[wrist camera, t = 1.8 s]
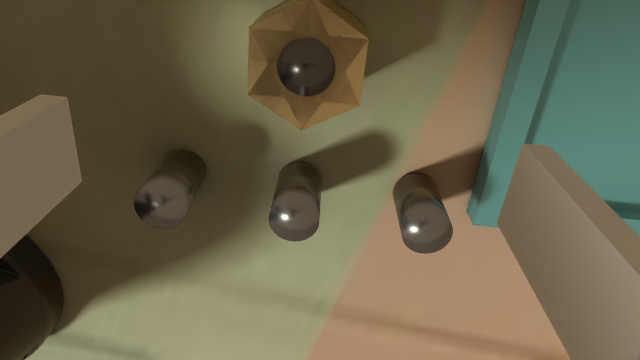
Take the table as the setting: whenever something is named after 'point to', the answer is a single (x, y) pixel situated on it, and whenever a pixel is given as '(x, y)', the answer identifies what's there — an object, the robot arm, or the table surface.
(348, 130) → the table surface
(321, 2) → the nut
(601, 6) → the tray
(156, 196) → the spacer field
